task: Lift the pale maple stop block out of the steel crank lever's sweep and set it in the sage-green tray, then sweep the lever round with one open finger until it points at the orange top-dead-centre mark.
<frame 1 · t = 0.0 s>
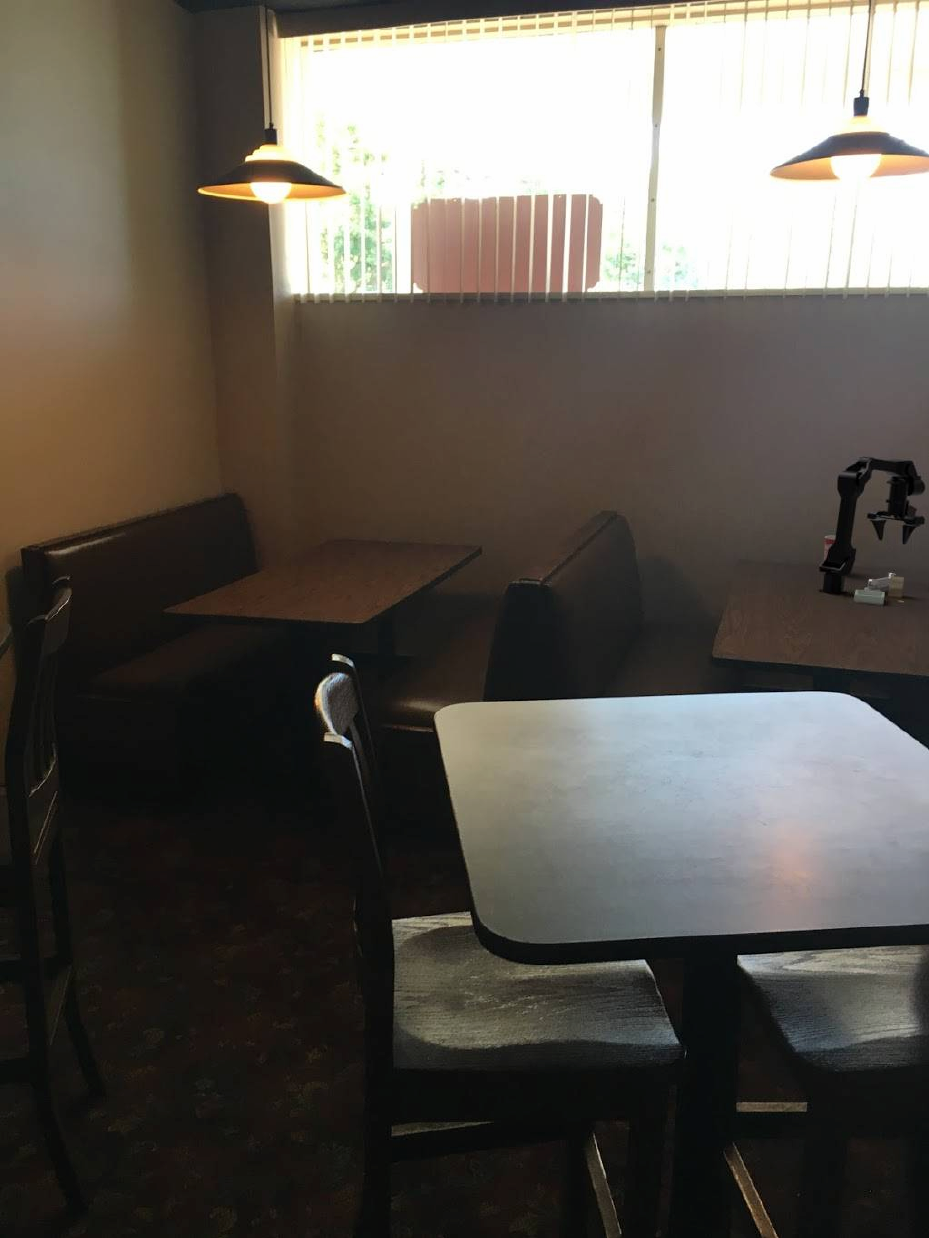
hand: (892, 542, 331), 15 cm above the table, fingers open, 9 cm apart
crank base: (871, 593, 319), on the table
stop tray: (868, 601, 308), on the table
crank: (881, 580, 321), point 4 cm above the table, hinge at 105.0°
mug: (833, 573, 353), on the table
stop block: (894, 595, 316), on the table
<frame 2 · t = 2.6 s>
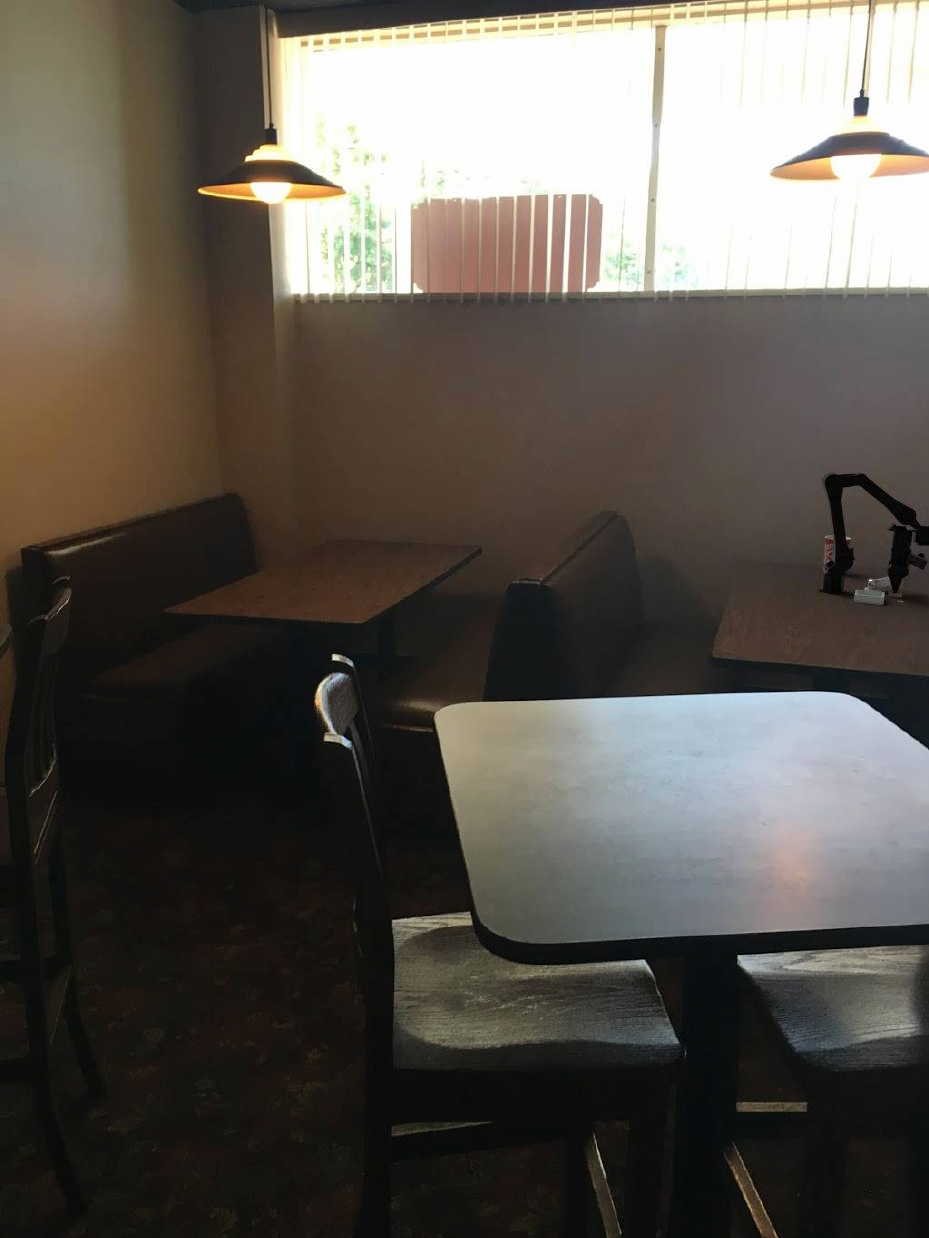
hand: (895, 592, 316), 1 cm above the table, fingers closed on stop block, 4 cm apart
stop block: (894, 595, 316), on the table, touching gripper
everything else where it was.
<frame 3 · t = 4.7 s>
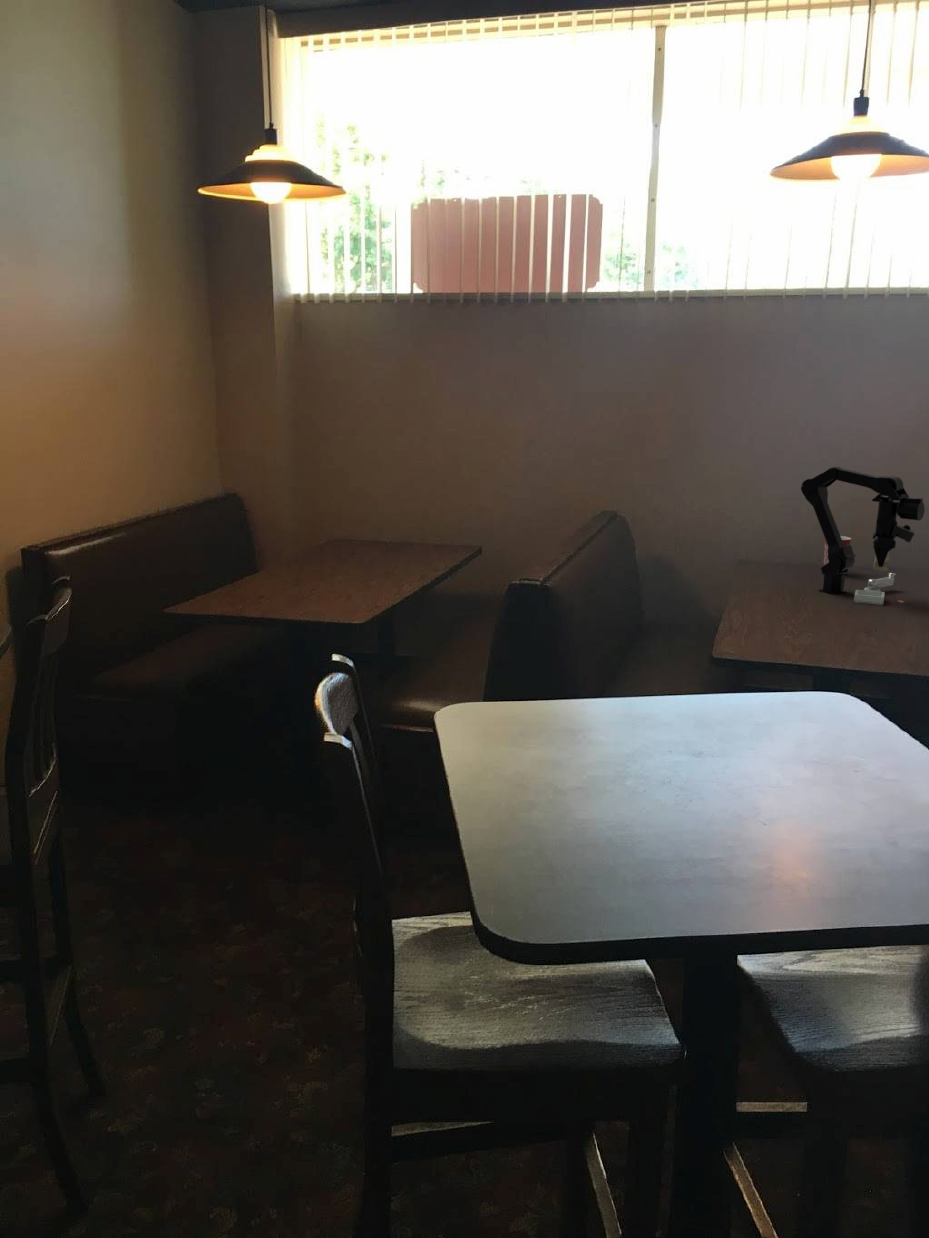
hand: (880, 565, 308), 11 cm above the table, fingers closed on stop block, 4 cm apart
stop block: (880, 569, 308), point 10 cm above the table, touching gripper
everything else where it was.
when the fingers open (4 cm above the table, at t = 6.7 s): stop block drops 2 cm, resting on stop tray.
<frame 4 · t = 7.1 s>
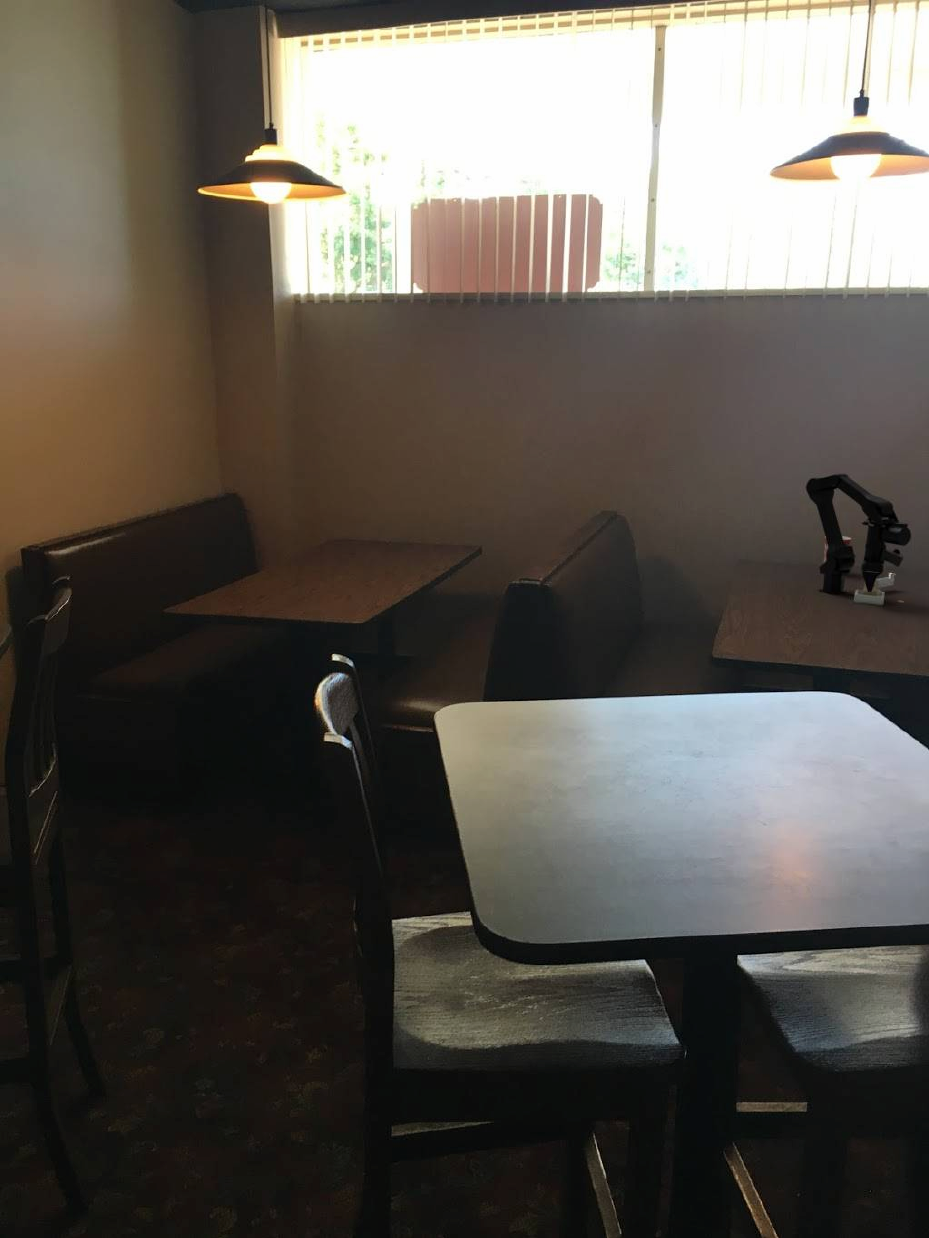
hand: (870, 589, 307), 4 cm above the table, fingers open, 8 cm apart
stop block: (869, 599, 308), point 1 cm above the table, touching stop tray
everything else where it was.
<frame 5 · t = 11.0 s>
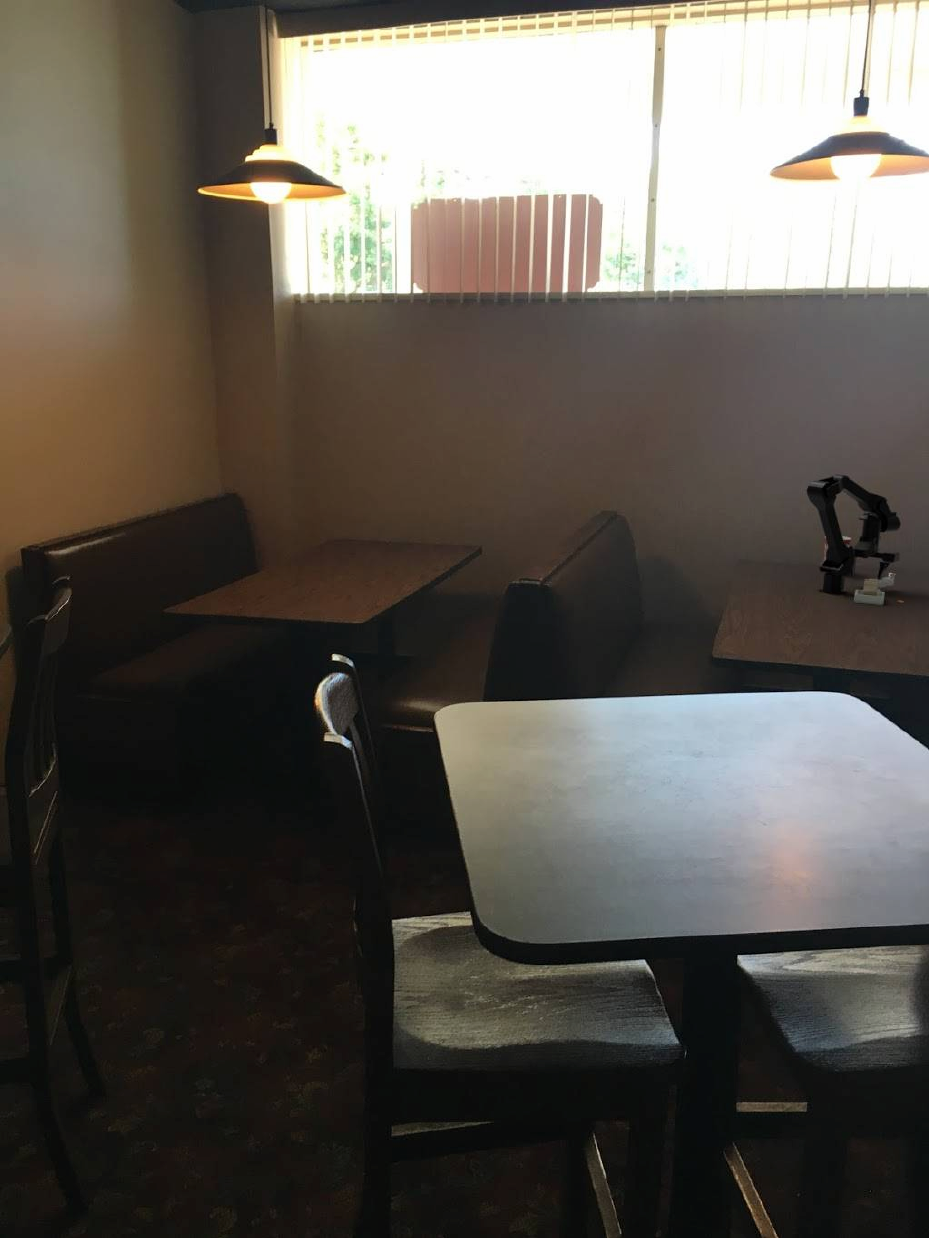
hand: (865, 579, 326), 3 cm above the table, fingers open, 8 cm apart
crank: (881, 580, 321), point 4 cm above the table, hinge at 105.0°, touching gripper
everything else where it was.
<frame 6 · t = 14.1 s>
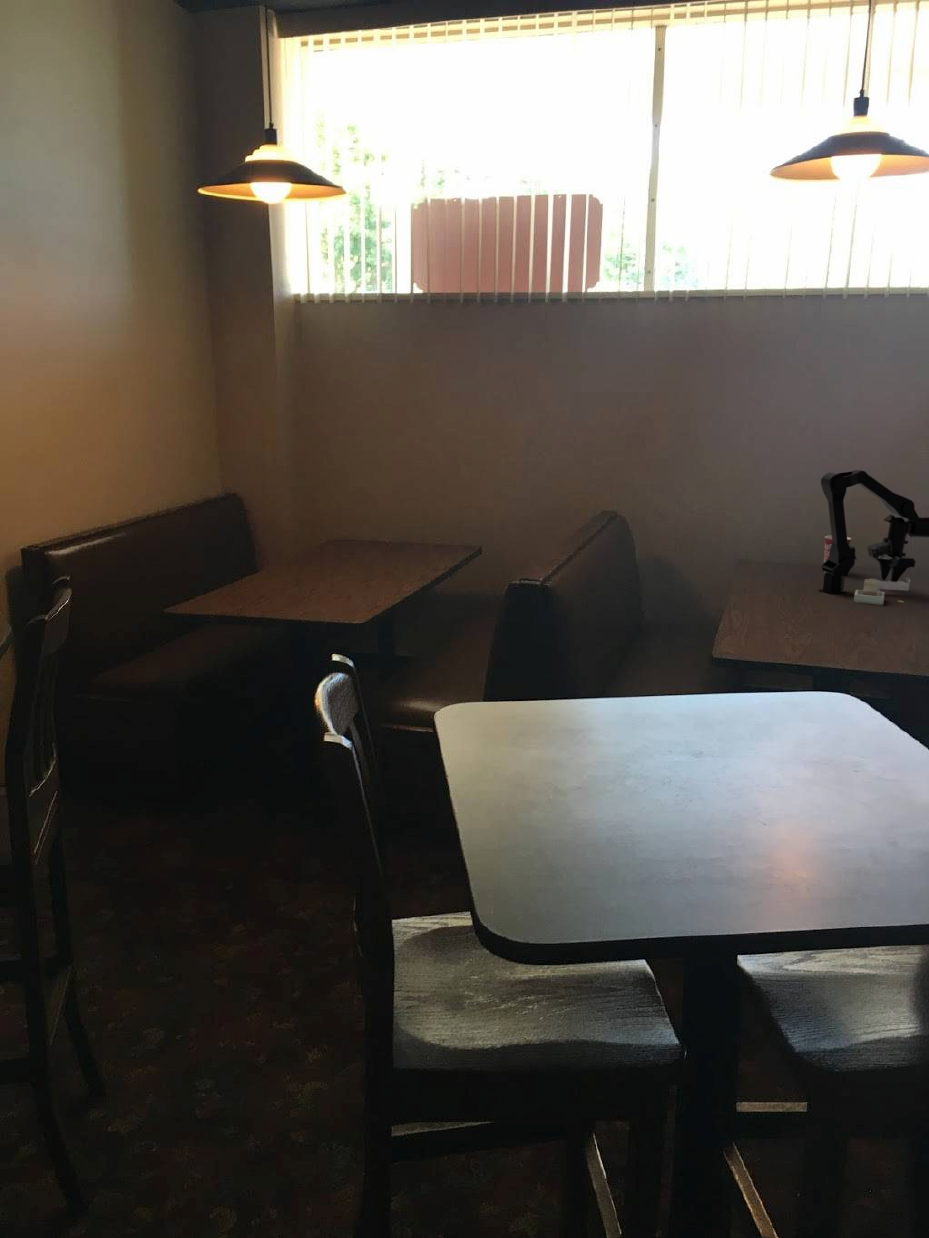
hand: (888, 582, 322), 3 cm above the table, fingers open, 6 cm apart
crank: (889, 583, 317), point 4 cm above the table, hinge at 57.2°, touching gripper
everything else where it was.
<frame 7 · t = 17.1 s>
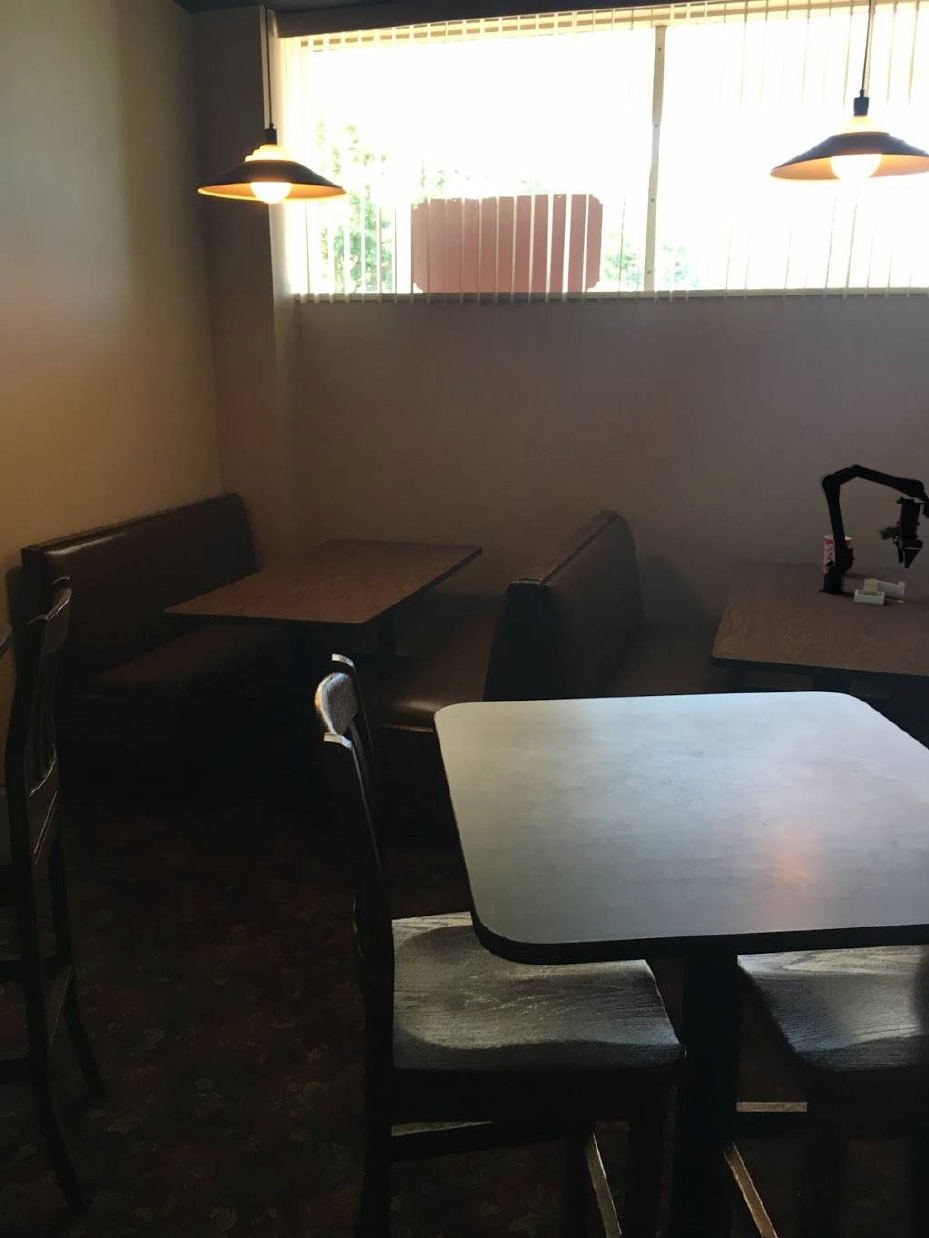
hand: (903, 565, 313), 10 cm above the table, fingers open, 9 cm apart
crank: (886, 584, 314), point 4 cm above the table, hinge at 9.9°
everything else where it was.
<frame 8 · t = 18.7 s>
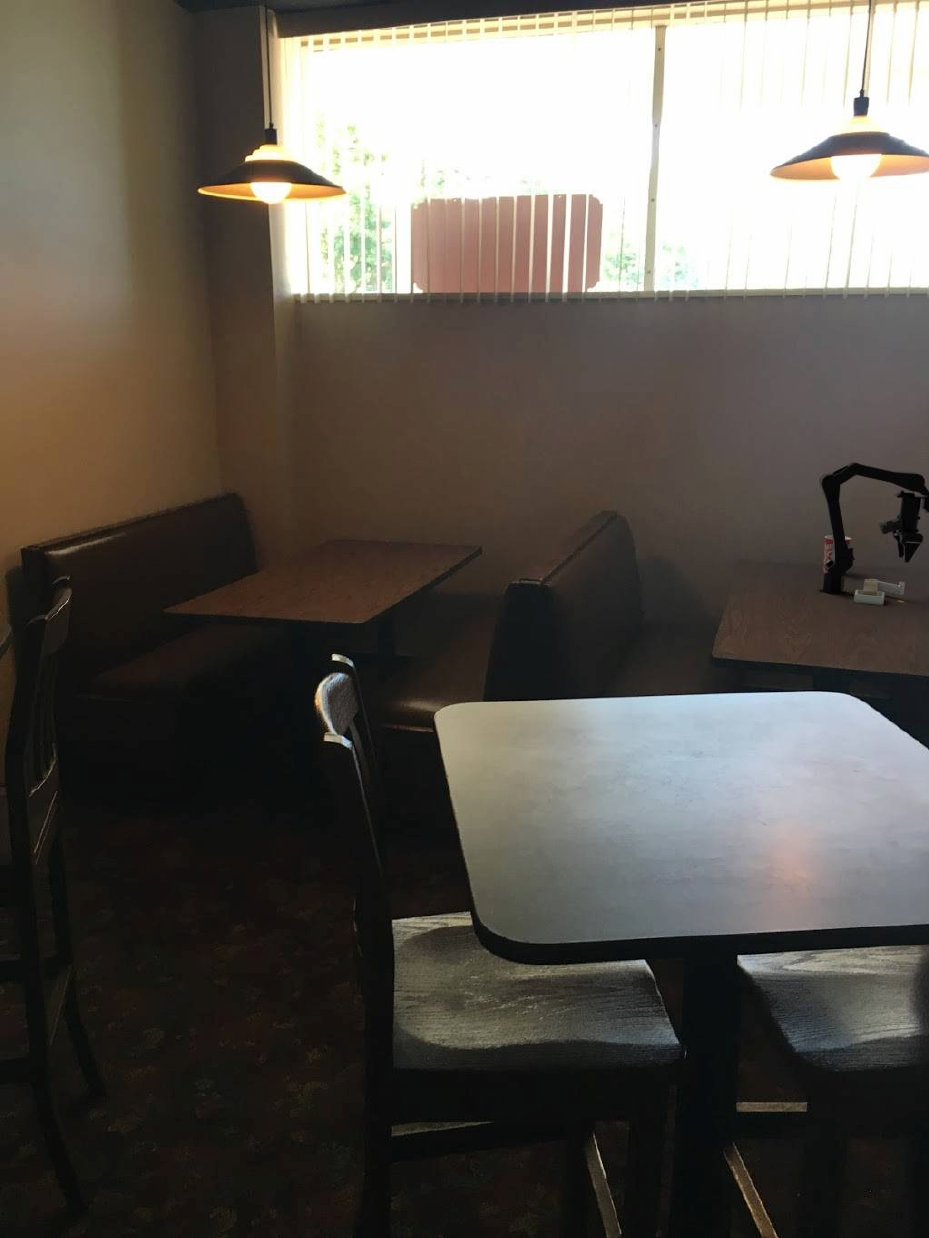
hand: (903, 560, 313), 12 cm above the table, fingers open, 9 cm apart
nothing on the table moved.
at the end: stop block 0.1 cm off-centre on the stop tray, point 0.6 cm above the stop tray's base; crank at +10° (first picture: +105°); stop block tilted 0° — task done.
